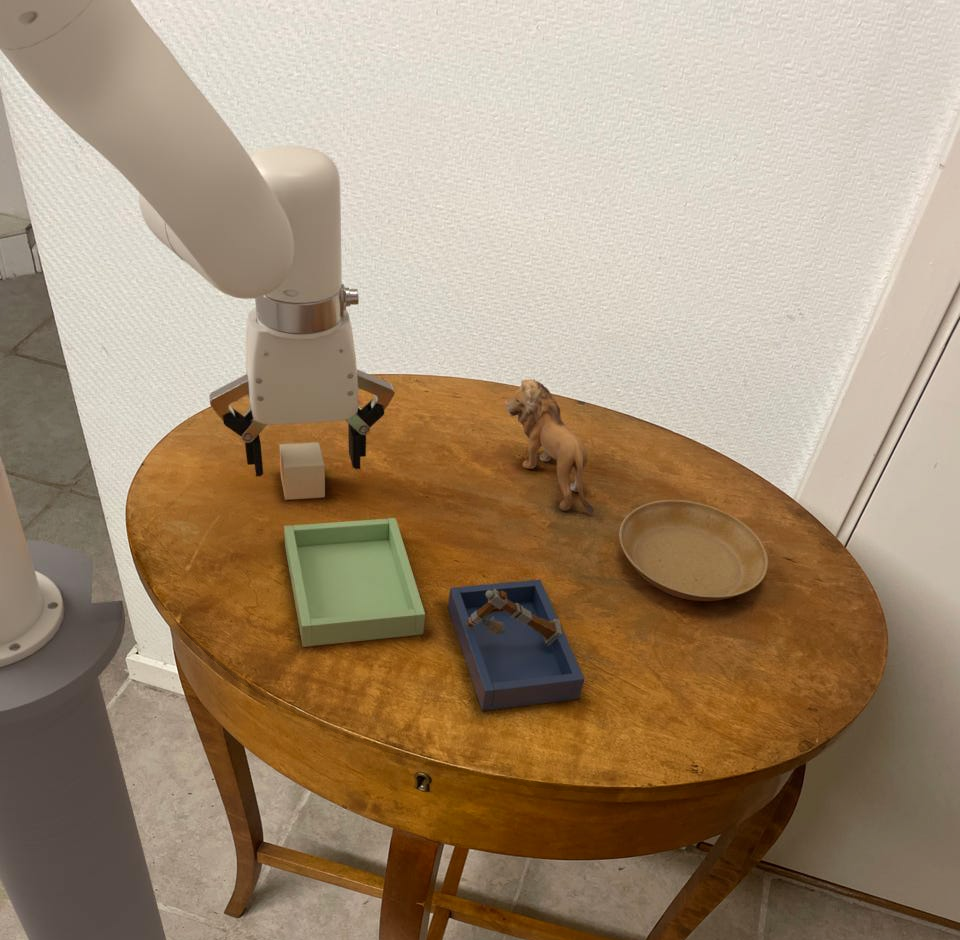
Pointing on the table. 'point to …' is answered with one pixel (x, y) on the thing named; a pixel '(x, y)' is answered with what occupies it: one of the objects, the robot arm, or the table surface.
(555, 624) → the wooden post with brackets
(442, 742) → the table surface
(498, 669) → the slate tray
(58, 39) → the robot arm
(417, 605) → the sage tray
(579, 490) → the lion figurine
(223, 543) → the table surface
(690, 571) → the plant saucer
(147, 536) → the table surface
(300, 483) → the cream block
